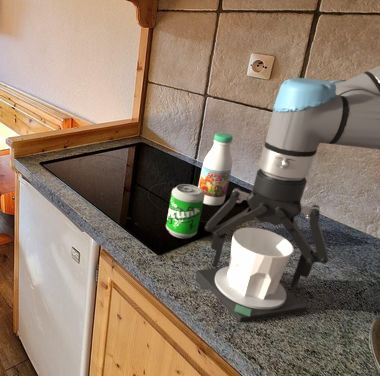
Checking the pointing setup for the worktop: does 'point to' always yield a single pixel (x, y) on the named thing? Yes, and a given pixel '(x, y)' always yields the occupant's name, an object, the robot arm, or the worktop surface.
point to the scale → (248, 297)
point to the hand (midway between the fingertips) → (252, 275)
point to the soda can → (185, 210)
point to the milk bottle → (216, 170)
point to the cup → (257, 261)
